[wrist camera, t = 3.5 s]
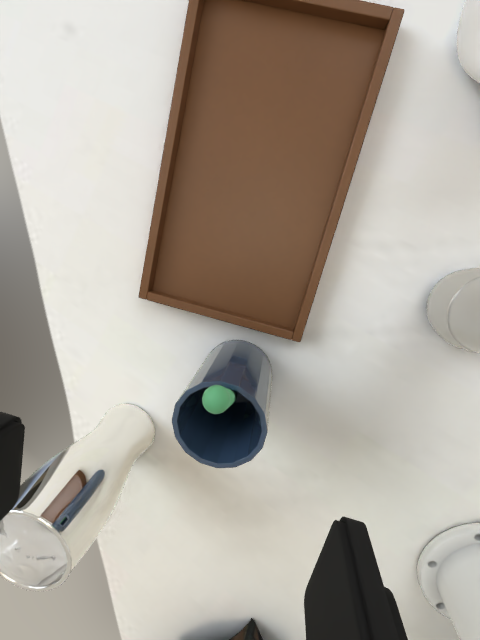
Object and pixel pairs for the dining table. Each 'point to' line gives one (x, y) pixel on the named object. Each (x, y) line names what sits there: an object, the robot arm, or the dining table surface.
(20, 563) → the beer glass
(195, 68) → the tray
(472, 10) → the white decorative knot
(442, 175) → the dining table surface
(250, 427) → the tumbler
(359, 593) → the robot arm
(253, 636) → the baking dish
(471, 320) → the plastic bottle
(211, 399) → the straw
